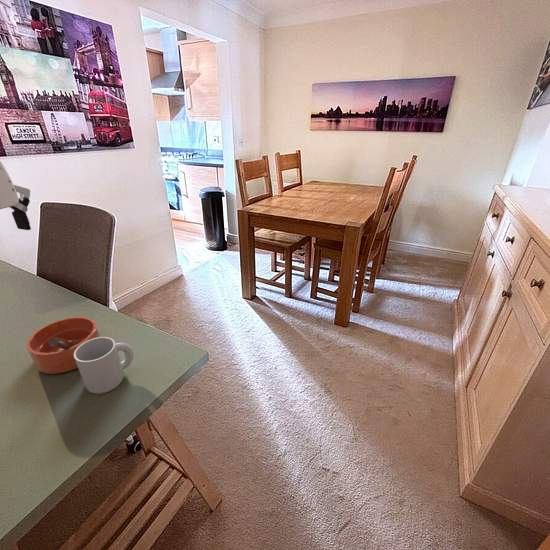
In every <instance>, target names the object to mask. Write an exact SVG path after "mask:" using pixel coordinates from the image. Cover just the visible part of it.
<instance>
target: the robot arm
mask: <svg viewBox="0 0 550 550" xmlns="http://www.w3.org/2000/svg"><path fill="white" fill-rule="evenodd" d="M18 194H19V195H18ZM30 198H31V190H30V188H26V187H24V186H19V185H15V184H14V183H13V180H12V179H11V177H10V175H9V172H8V171H7V169H6V167H5V165H4V164H3V162H2V161H1V160H0V210H3V209H8V208H9V209H11V210H13V211H11V215H12V217H13V220H14V223H15V225H16V228H17V229H18V230H23V231H30V230H32V227H31V224H30V223H31V222H30V220H29V217H28V215H27V212H28V210H29V209H28V206H29V205H30V203H31V200H30Z"/></svg>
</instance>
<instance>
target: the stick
mask: <svg viewBox="0 0 550 550" xmlns="http://www.w3.org/2000/svg"><path fill="white" fill-rule="evenodd" d="M79 343H80V342H79V341H72V342H70V341H67V340H63V339H60V338H56V337H54V338H51V339H50V340H49V346H51V347H55V348H61V349H68V348H70V347H72V346H74V345H77V344H79Z"/></svg>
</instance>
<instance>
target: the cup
mask: <svg viewBox="0 0 550 550" xmlns="http://www.w3.org/2000/svg"><path fill="white" fill-rule="evenodd" d="M120 351H122V352H123V353H124V360H123V361H121V359H120V355H119V352H120ZM74 358H75V361H76V363H77V366H78V368H77V369H78V371H79V373H80V376H81V379H82V381H83V384H84V386H85V388H86V390H87V391H88V392H89V393H91V394H96V395H101V394H106V393H109V392H111V391H113V390H115V389H116V388H117V387H118V386H119V385H121V383H122V381H123V380H124V376H125V373H124V370H125V369H127V368H129V367H130V366H131V364H132V363H133V361H134V351H133V348H132V347H131V346H130V345H129V344H128V343H126V342H117V343H116V342H115V340H114V339H113V338H111V337H108V336H100V337H98V338H94V339H91V340H88V341H86V342H84V343H83V344H81V345H80V346H79V347H78V348H77V349H76V350H75V352H74Z"/></svg>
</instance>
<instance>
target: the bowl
mask: <svg viewBox="0 0 550 550" xmlns="http://www.w3.org/2000/svg"><path fill="white" fill-rule="evenodd" d="M54 337H56V338H60V339H63V340H67V341H68V340H70V341H79V342H80V343H79V344H77V345H74V346H72V347H70V348H68V349H65V350H61V351H58V350H59V349H60V348H55V347H51V346H49V340H50V339H51V338H54ZM98 337H101V335H100V332H99V329H98V326H97V323H96V321H94V320H93V319H92V318H89V317H87V316H70V317H65V318H62V319H58V320H55V321H53V322H50V323H48V324H46V325H43V326H42V327H40V328H38V329H37V330H36V331H35V332H33V333H32V334H31V335H30V336H29V338H28V339H27V340H26V345H25V346H26V350H27V352H28V354H29V356H30V358H31V361H32V362H33V365H34V366H35V369H36V370H37V371H38V372H41V373H43V374H51V375H55V374H56V375H57V374H62V373H67V372H69V371H73V370H76V369H79V368H78V366H77V363H76V361H75V358H74V352H75V350H76V349H77V348H78V347H79V346H80V345H81V344H83V343H84V342H86V341H88V340H91V339H94V338H98Z"/></svg>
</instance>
